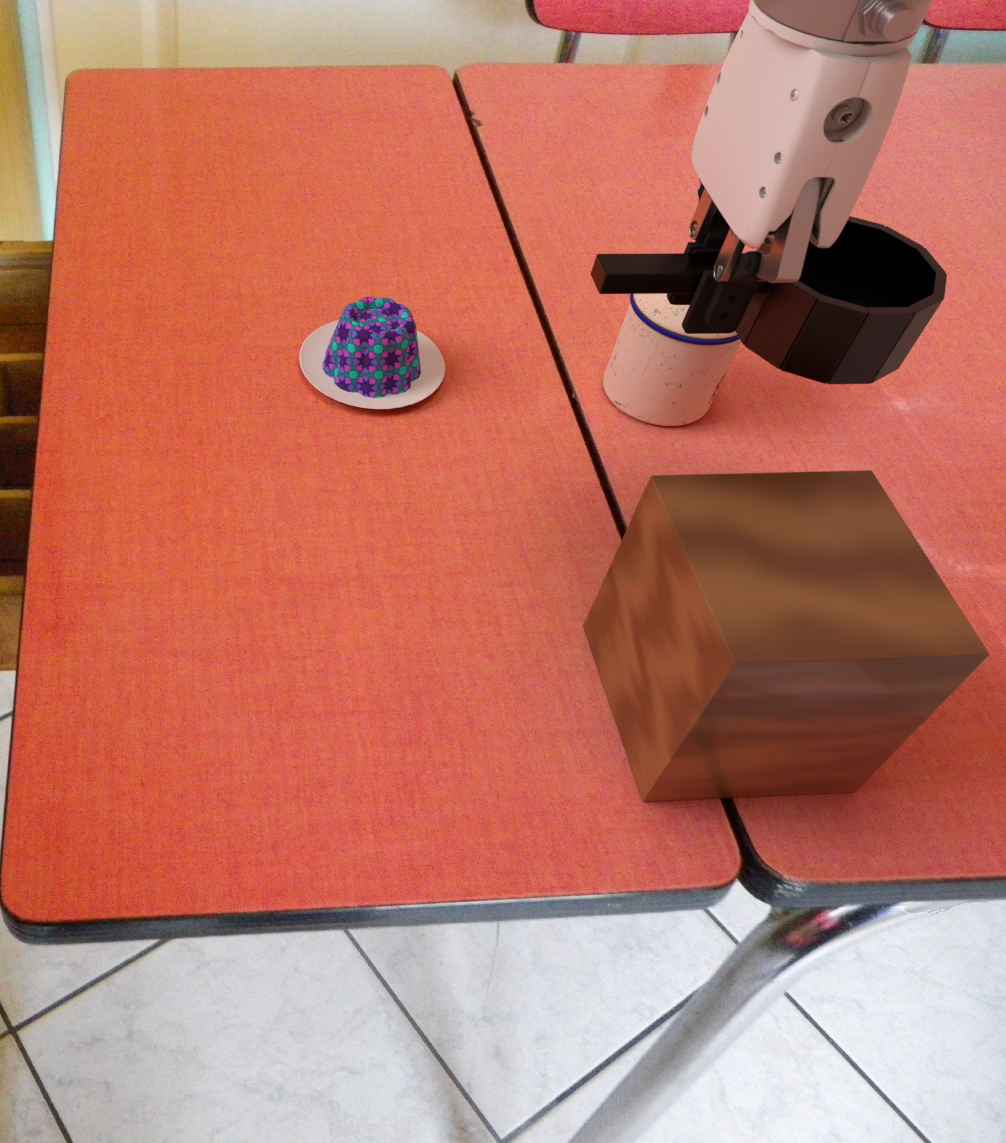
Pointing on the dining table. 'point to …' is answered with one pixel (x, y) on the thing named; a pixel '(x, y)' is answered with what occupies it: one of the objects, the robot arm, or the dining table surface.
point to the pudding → (373, 357)
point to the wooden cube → (772, 634)
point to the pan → (815, 301)
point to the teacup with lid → (665, 364)
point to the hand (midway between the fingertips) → (700, 314)
